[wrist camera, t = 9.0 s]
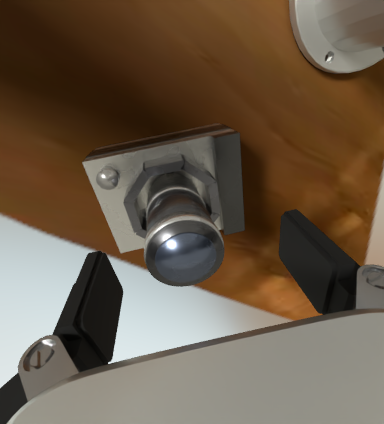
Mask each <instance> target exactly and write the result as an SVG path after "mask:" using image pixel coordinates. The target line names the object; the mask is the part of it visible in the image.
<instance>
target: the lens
mask: <svg viewBox="0 0 384 424" xmlns="http://www.w3.org/2000/svg"><path fill="white" fill-rule="evenodd" d="M146 219H147V232H146V238H145V243H144V259H145V263H146V265H147V268H148V270H149V272H150V273H151V275H152V276H153V277H154V278H156V279H157V280H158V281H160V282H162V283H164V284H167V285H171V286H190V285H194V284H197V283H200V282H202V281H204V280H206V279H207V278H209V277H210V276H211V275H213V274H214V273H215V272H216V271H217V269H218V268H219V267H220V265H221V263H222V261H223V257H224V243H223V239H222V236H221V234H220V232H219V230H218V228H217V226H216V225H215V223H214V222H213V221H212V219H211V217H210V215H209V213H208V211H207V209H206V206H205V203H204V201H203V199H202V197H201V196H200V194H199V192H198V190H197V188H196V186H195V184H194V183H193V182H192V181H191V180H190V179H189V178H187V177H186V176H183V175H180V174H167V175H164V176H161V177H160V178H158V179H157V180H155V181H154V182H153V184H152V185H151V187H150V189H149V191H148V199H147V211H146Z"/></svg>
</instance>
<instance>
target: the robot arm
mask: <svg viewBox="0 0 384 424" xmlns="http://www.w3.org/2000/svg"><path fill="white" fill-rule="evenodd" d="M289 7H290V20H291V25H292V29H293V34H294V37H295V39H296V42H297V44H298V47H299V49H300V50H301V52H302V53H303V55H304V56H305V57H306V59H307V60H308V61H309V62H310V63H312V64H313V65H314V66H315V67H317V68H319V69H321V70H323V71H325V72H330V73H335V74H338V73H350V72H356V71H360V70H363V69H365V68H368V67H370V66H372V65H374V64H375V63H377V62H379V61H380V60H382V59H383V58H384V0H289ZM279 256H280V259H281V260H282V262H283V263H284V265H285V266H286V268H287V269H288V270H289V272H290V273H291V275H292V276H293V278H294V279H295V281H296V282H297V283H298V285H299V286H300V288H301V289H302V291H303V292H304V293H305V295H306V296H307V298H308V299H309V301H310V302H311V303H312V305H313V306H314V308H315V309H316V311H317V312H318V313H320V314H321V313H322V314H323V315H320V316H315V317H311V318H306V319H301V320H297V321H292V322H288V323H283V324H279V325H274V326H270V327H265V328H261V329H256V330H252V331H247V332H243V333H238V334H234V335H230V336H225V337H221V338H217V339H212V340H208V341H203V342H199V343H195V344H190V345H186V346H182V347H177V348H174V349H169V350H165V351H160V352H156V353H152V354H148V355H143V356H139V357H135V358H131V359H127V360H123V361H119V362H115V363H111V364H108V362H110V361H111V360H112V357H113V351H114V345H115V339H116V332H117V327H118V321H119V315H120V309H121V303H122V297H123V289H122V286H121V284H120V282H119V280H118V278H117V276H116V274H115V272H114V270H113V268H112V265H111V263H110V261H109V259H108V257H107V255H106V254H105V253H102V252H101V251H97V252H92V253H89V254H88V255H87V257H86V259H85V262H84V264H83V266H82V269H81V271H80V274H79V276H78V278H77V281H76V283H75V284H74V285H73V287H72V289H71V292H70V294H69V297H68V299H67V301H66V304H65V306H64V308H63V311H62V313H61V315H60V318H59V320H58V323H57V325H56V327H55V330H54V332H53V335H49V336H45V337H43V338H40V339H39V340H38V341H36V342H34V343H33V344H32V345H31V346H30V347H29V348H28V349H27V350H26V351H25V353H24V354H23V356H22V357H21V360H20V362H19V365H18V373H17V374H16V375H15V376H14V377H13V378H12V379H11V380H9V381H8V382H7V383H6V384H5V385H4V386H2V387H1V388H0V424H384V267H382V266H377V265H364V266H359V265H358V264H357V263H356V262H355V261H354V260H353V259H352V258H351V257H349V256H348V255H347V254H346V253H345V252H344V251H343V250H342V249H341V248H339V247H338V246H337V245H336V244H335V243H334V242H333V241H332V240H331V239H329V238H328V237H327V236H326V235H325V234H324V233H323V232H321V231H320V230H319V229H318V228H317V227H316V226H315V225H314V224H313V223H312V222H310V221H309V220H308V219H307V218H306V217H305V216H304V215H303V214H302V213H300V212H299V211H298V210H296V209H295V210H291V211H286V212H285V213H284V215H282V216H281V227H280V243H279Z"/></svg>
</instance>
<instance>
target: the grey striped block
mask: <svg viewBox="0 0 384 424" xmlns="http://www.w3.org/2000/svg"><path fill="white" fill-rule="evenodd" d="M82 163H83V165H84V168H85V170H86V172H87V175H88V177H89V180H90V182H91V184H92V187H93V189H94V191H95V194H96V196H97V198H98V201H99V203H100V205H101V208H102V210H103V212H104V215H105V217H106V219H107V222H108V224H109V226H110V229H111V231H112V234H113V236H114V238H115V241H116V243H117V245H118V248H119V250H120V252H121V253H123V252H127V251H132V250H136V249H140V248H144V243H145V238H146V232H147V219H146V211H147V199H148V191H149V189H150V187H151V185H152V184H153V182H154V181H155V180H157V179H158V178H160V177H161V176H164V175H167V174H180V175H183V176H186V177H187V178H189V179H190V180H191V181H192V182H193V183H194V184H195V186H196V188H197V190H198V192H199V194H200V196H201V197H202V199H203V201H204V203H205V206H206V209H207V211H208V213H209V215H210V217H211V219H212V221H213V222H214V223H215V225H216V226H217V228H218V230H221V229H222V231H223V233H224V235H227V234H232V233H236V232H240V231H244V230H245V226H244V207H243V188H242V169H241V150H240V133H239V132H237V131H235V130H232V129H231V128H230V127H228V126H226V125H223V124H219V123H216V124H211V125H206V126H201V127H197V128H192V129H187V130H182V131H177V132H172V133H167V134H162V135H157V136H152V137H147V138H142V139H137V140H133V141H128V142H123V143H118V144H113V145H108V146H103V147H98V148H96V149H95V150H93V151H92V152H91V153H90V154H89V155H88V156H87V157H86V159H85V160H84V161H83V162H82Z"/></svg>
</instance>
